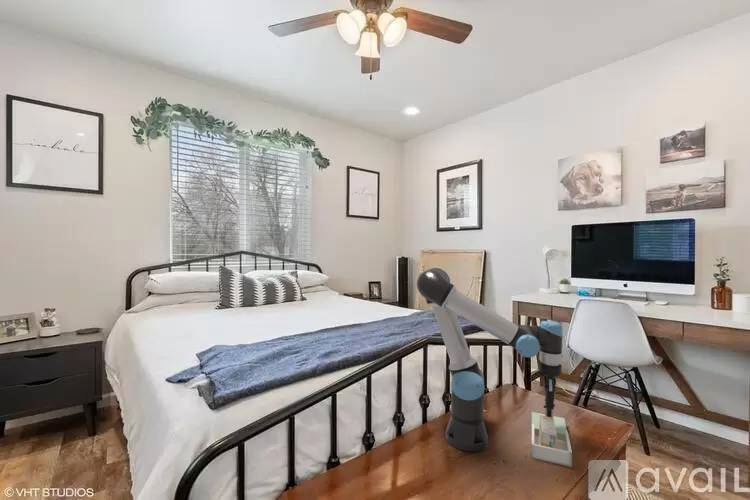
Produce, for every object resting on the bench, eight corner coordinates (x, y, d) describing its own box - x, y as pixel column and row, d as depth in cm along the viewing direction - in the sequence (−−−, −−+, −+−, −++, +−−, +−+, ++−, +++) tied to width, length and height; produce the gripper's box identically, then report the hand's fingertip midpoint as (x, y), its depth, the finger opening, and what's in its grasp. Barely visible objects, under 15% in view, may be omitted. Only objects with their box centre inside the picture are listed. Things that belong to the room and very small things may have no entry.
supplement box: (552, 439, 130) (556, 459, 118) (538, 435, 132) (540, 455, 120) (554, 417, 130) (557, 435, 118) (539, 414, 132) (541, 431, 119)
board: (531, 435, 133) (531, 427, 133) (531, 419, 146) (531, 411, 146) (567, 443, 128) (567, 435, 128) (564, 425, 141) (564, 418, 141)
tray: (531, 457, 119) (531, 444, 119) (531, 435, 133) (531, 423, 133) (571, 467, 114) (572, 453, 114) (567, 443, 128) (567, 431, 128)
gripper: (563, 369, 126) (561, 434, 126) (560, 359, 138) (558, 418, 138) (539, 366, 129) (538, 430, 129) (538, 356, 141) (537, 414, 141)
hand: (548, 424), depth 133 cm, fingers closed
